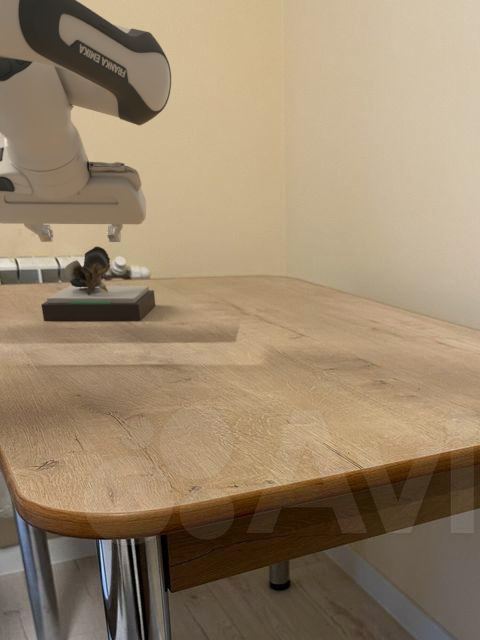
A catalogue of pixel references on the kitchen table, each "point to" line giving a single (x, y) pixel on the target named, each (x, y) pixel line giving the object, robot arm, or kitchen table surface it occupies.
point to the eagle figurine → (89, 270)
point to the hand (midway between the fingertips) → (81, 238)
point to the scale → (99, 304)
